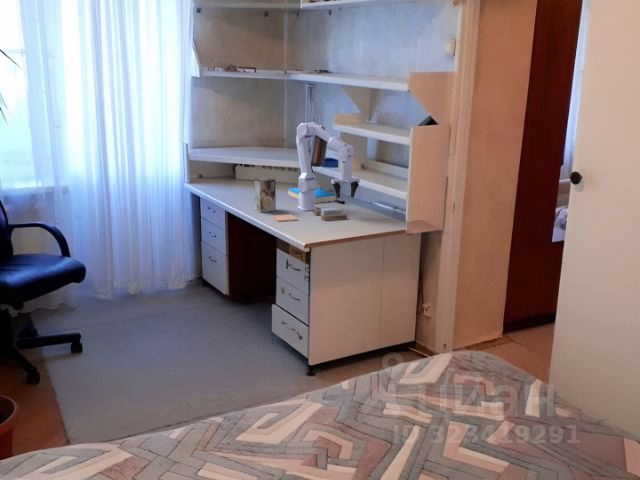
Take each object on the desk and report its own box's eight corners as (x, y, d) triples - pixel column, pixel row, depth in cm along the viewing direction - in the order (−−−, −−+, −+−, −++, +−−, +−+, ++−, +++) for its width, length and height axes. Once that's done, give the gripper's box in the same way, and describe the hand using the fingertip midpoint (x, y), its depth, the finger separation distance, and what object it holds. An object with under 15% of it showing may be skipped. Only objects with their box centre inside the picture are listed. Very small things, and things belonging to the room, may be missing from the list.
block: (320, 216, 331) (320, 208, 330) (335, 215, 333) (336, 207, 332) (323, 218, 326) (324, 210, 325) (339, 217, 329) (339, 209, 328)
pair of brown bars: (313, 214, 334) (313, 210, 333) (335, 212, 338) (335, 208, 338) (324, 220, 321) (324, 216, 321) (346, 219, 326) (346, 215, 325)
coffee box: (269, 208, 344) (270, 177, 339) (275, 210, 338) (276, 179, 334) (253, 210, 339) (253, 178, 334) (259, 212, 334) (260, 181, 329)
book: (310, 197, 355) (287, 188, 375) (310, 205, 356) (287, 195, 376) (337, 194, 364) (313, 185, 384) (337, 202, 365) (313, 193, 385)
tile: (271, 216, 326) (271, 215, 326) (290, 215, 329) (290, 214, 329) (278, 221, 317) (278, 220, 317) (297, 220, 320) (297, 219, 320)
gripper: (335, 172, 319) (334, 199, 323) (363, 171, 324) (361, 198, 328) (330, 169, 325) (329, 196, 329) (357, 168, 330) (356, 195, 334)
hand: (345, 197), depth 329 cm, fingers open, 7 cm apart
